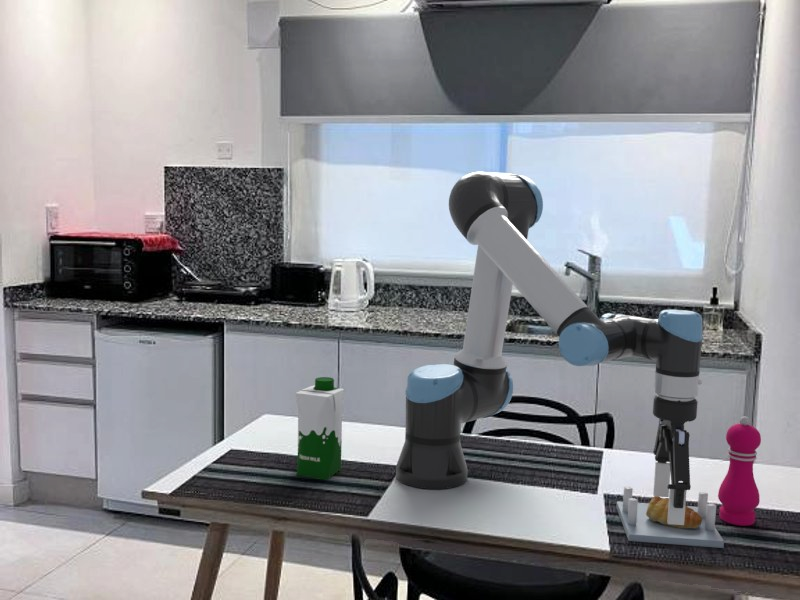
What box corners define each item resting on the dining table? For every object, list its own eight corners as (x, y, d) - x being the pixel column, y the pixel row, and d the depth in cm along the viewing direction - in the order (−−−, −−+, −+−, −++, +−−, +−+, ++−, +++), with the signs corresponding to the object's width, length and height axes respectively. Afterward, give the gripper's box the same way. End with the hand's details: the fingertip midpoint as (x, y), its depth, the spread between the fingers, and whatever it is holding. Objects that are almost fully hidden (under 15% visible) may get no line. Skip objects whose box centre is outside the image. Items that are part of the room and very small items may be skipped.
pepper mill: (709, 512, 157) (717, 411, 155) (745, 512, 158) (753, 411, 156) (727, 527, 150) (736, 421, 148) (765, 526, 151) (774, 421, 148)
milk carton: (346, 469, 177) (348, 379, 174) (327, 482, 168) (328, 387, 166) (310, 463, 180) (311, 374, 177) (290, 476, 172) (290, 383, 169)
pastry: (706, 523, 149) (707, 503, 148) (694, 535, 143) (695, 514, 143) (655, 510, 154) (657, 490, 154) (642, 521, 149) (643, 501, 149)
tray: (628, 540, 143) (630, 509, 142) (616, 507, 159) (618, 478, 158) (723, 547, 141) (726, 516, 140) (701, 513, 157) (703, 484, 156)
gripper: (714, 415, 134) (705, 538, 137) (682, 382, 159) (675, 487, 161) (667, 412, 135) (659, 535, 138) (642, 380, 160) (636, 484, 162)
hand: (667, 509), depth 150 cm, fingers open, 13 cm apart
